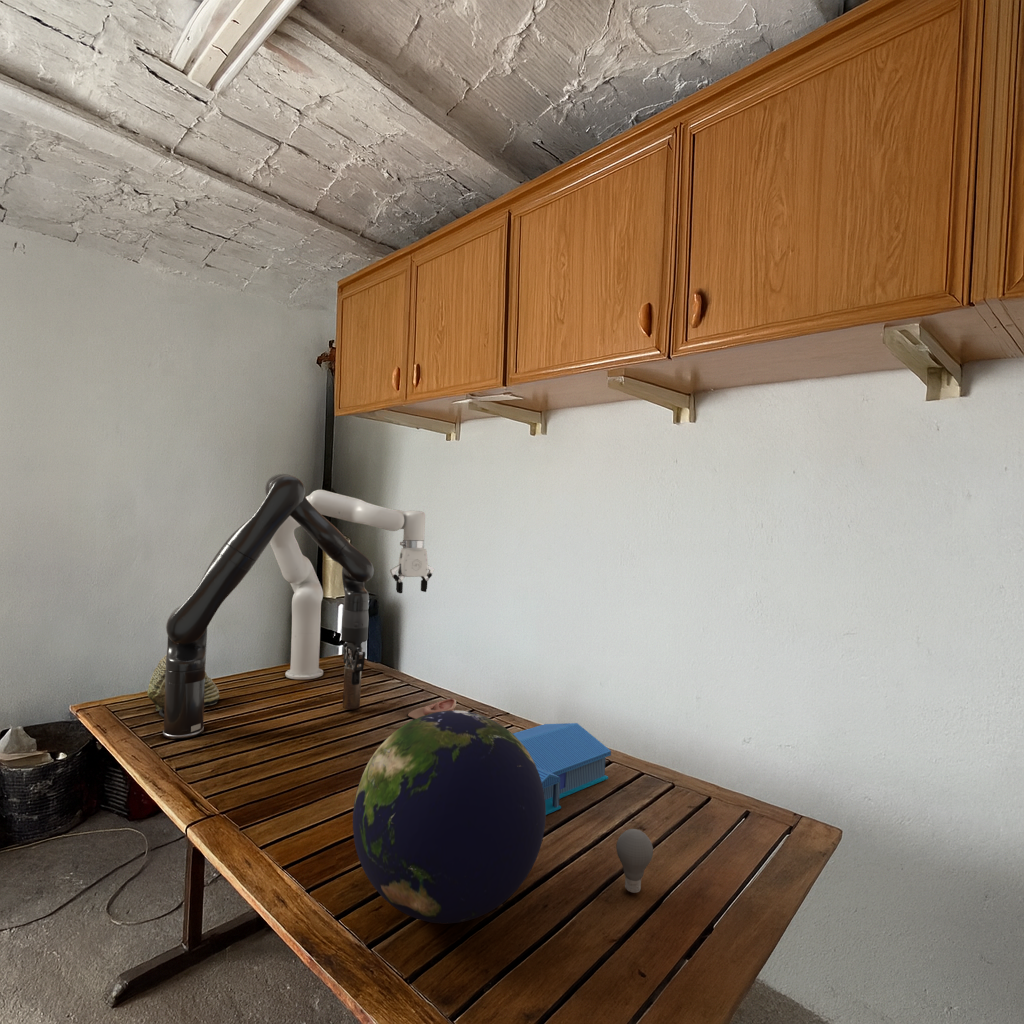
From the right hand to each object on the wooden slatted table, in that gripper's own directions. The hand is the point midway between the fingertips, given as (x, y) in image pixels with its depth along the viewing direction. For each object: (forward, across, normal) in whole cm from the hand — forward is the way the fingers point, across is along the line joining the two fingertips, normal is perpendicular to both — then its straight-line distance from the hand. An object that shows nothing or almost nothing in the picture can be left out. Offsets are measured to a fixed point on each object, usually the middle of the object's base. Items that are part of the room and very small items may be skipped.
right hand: (411, 592), depth 229 cm
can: (+28, -33, -28) cm, 52 cm away
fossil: (+30, -74, -1) cm, 79 cm away
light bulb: (+30, -28, -134) cm, 140 cm away
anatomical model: (+30, -14, -43) cm, 54 cm away
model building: (+30, -20, -94) cm, 101 cm away
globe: (+30, -55, -120) cm, 136 cm away
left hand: (+21, -33, -28) cm, 48 cm away
